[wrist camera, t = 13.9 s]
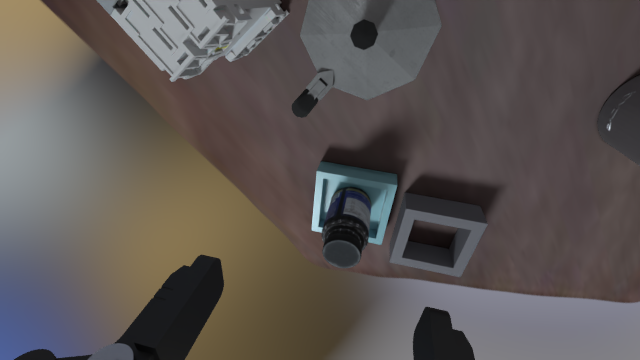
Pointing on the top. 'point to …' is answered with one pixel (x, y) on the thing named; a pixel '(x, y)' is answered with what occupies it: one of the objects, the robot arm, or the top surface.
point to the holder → (443, 213)
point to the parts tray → (369, 181)
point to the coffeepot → (365, 46)
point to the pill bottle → (346, 227)
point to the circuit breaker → (195, 29)
